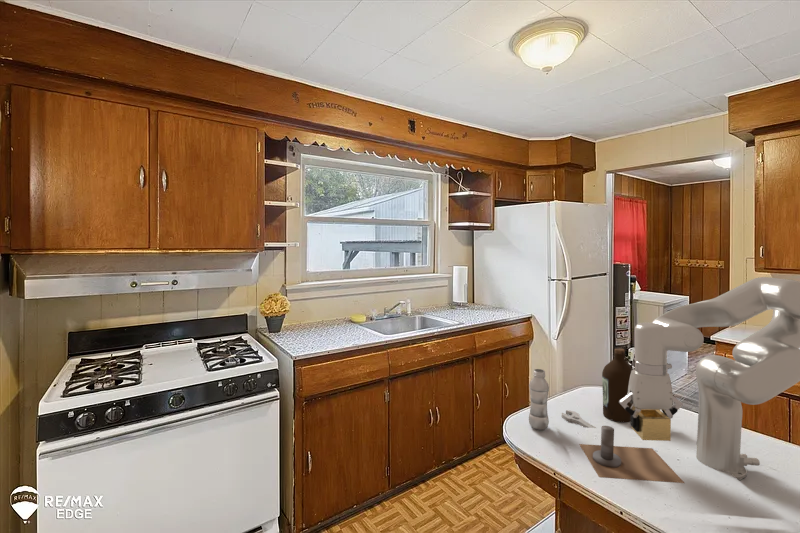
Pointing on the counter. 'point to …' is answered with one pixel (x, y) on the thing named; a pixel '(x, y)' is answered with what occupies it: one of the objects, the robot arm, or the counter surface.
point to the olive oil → (616, 387)
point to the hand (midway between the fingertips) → (650, 429)
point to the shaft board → (627, 461)
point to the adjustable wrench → (576, 419)
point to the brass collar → (654, 425)
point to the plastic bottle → (538, 401)
